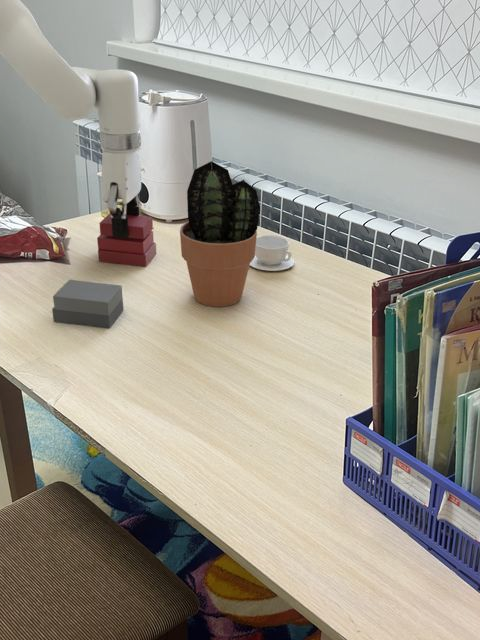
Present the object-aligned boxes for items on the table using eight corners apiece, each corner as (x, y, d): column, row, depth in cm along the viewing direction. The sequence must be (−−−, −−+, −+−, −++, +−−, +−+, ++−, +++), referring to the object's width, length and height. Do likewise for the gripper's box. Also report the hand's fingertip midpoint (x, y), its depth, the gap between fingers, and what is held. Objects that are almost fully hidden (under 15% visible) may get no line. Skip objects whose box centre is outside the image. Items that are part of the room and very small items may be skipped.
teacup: (236, 263, 143) (236, 242, 140) (265, 249, 150) (266, 229, 147) (275, 277, 138) (276, 255, 135) (303, 262, 144) (305, 241, 142)
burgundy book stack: (98, 261, 141) (96, 238, 138) (110, 248, 146) (108, 226, 144) (146, 266, 139) (144, 243, 137) (156, 253, 145) (155, 231, 143)
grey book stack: (53, 322, 118) (49, 295, 115) (70, 303, 124) (67, 278, 122) (109, 328, 117) (107, 302, 114) (124, 310, 123) (122, 284, 120)
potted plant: (216, 320, 121) (217, 179, 108) (166, 295, 129) (161, 160, 116) (269, 297, 130) (276, 164, 117) (219, 274, 137) (220, 148, 125)
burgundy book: (100, 234, 138) (99, 222, 137) (110, 224, 143) (110, 212, 142) (143, 239, 137) (143, 227, 136) (152, 228, 142) (152, 217, 141)
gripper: (117, 128, 139) (123, 214, 148) (84, 150, 124) (92, 244, 133) (153, 131, 138) (157, 218, 147) (124, 153, 123) (130, 248, 132)
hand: (126, 229), depth 140 cm, fingers closed on burgundy book, 6 cm apart
